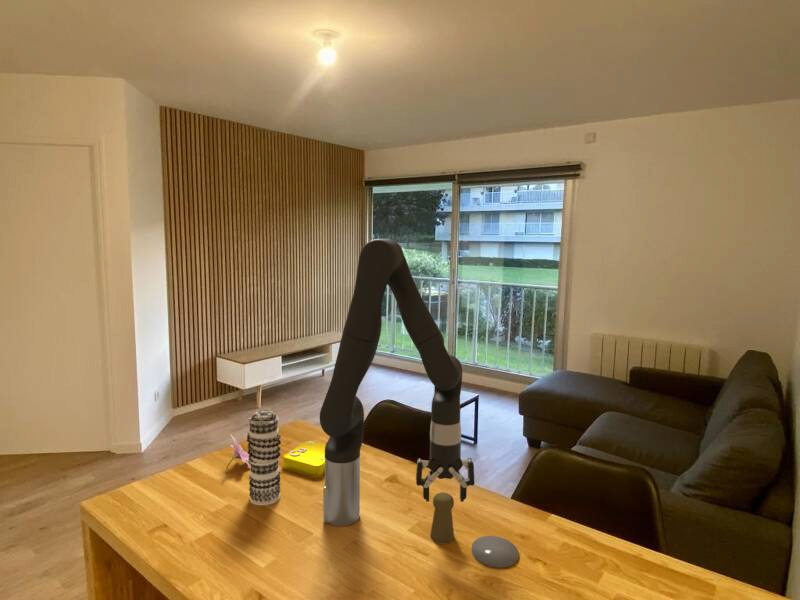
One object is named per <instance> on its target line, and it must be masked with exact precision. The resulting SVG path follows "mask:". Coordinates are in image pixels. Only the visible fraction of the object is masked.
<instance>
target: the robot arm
mask: <svg viewBox="0 0 800 600" xmlns="http://www.w3.org/2000/svg"><path fill="white" fill-rule="evenodd" d="M354 283H355V285H354V290H353V295H352V299H351V301H350V305H349V308H348V310H347V317H346V320H345V322H344V323H345V324H344V327H343V330H342V335H341V338H340V342H339V347H338V352H337V356H336V360H335V363H334V368H333V371H332V372H333V373H332V377H331V380H330V384H329V387H328V390H327V391H326V394H325V397H324V401H323V402H322V405H321V408H320V411H319V424H320V427H321V429H322V431H323V432H324V433H325V434H326V435H327V436H328V437H329V438H328V440H327V442H326V443H325V444H326V446H325V475H324V485H323V489H322V490H323V493H322V494H323V496H322V497H323V499H322V500H323V503H322V504H323V523H326V524H330V525H332V526H335V527H345V526H350V525H352V524H355V523H356V522H357V521H358V520H359V519H360V515H361V514H360V510H361V507H360V503H361V502H360V498H361V496H360V495H361V494H360V493H361V492H360V491H361V485H360V484H361V478H360V477H361V475H360V474H361V449H362V448H361V447H362V446H363V441H364V426H365V425H364V424H365V410H364V407H363V406H364V405H363V403H362V401H361V399H360V398H359V397H358V396H357V395H358V394H357V393H358V390H359V389H360V386H361V383H362V382H363V380H364V378H365V377H366V374H367V373H368V371H369V369H370V367H371V365H372V363H373V361H374V359H375V357H376V352H377V349H378V347H379V343H380V339H381V333H382V325H383V324H382V321H383V320H382V319H383V318H382V316H383V315H382V313H383V312H382V311H383V310H382V307H383V305H382V304H383V300H384V295H385V292H386V289H387V286H388V287H389V289H390V291H391V292H392V295H393V297H394V299H395V301H396V303H397V308H398V311H399V314H400V317H401V320H402V323H403V326H404V328H405V329H406V332H407V334H408V336H409V338H410V339H411V341H412V343H413V345H414V347H415V348H416V350H417V351H418V354H419V356H420V359H421V362H422V365H423V367H424V371H425V372H426V375H427V377H428V378H429V380H430V382H431V383H432V385H433V386H434V389H433V390H434V393H433V397H432V400H431V410H430V411H431V412H430V413H431V415H430V416H431V421H430V427H429V428H430V430H429V459H428V460H425V459H422V458H421V457H418V458H417V460H416V470H415V471H416V474H415V481H416V485H417V486H421V487H422V497H423V499H424V500H425V502H430V485H431V484H432V483H434V482H435V480H436V479H437V478H438V479H439V480H443V479H448V480H451V479H452V478H454V479H455V480H456V481H457V483H459V499H460V502H461V503H462V502H463V503H464V502H465V500H466V499H467V488H468V487H469V486H474V485H475V469H474V468H475V465H474V460H473V459H472V458H471V457H470V458H467V459H464V460H463V459H462V458H461V456H462V452H461V451H462V427H461V426H462V425H461V394H462V393H461V391H462V382H463V366H462V363H461V361H460V360H459V359H458V358H457V357H456V356H454V355H451V354H449V352H448V351H447V348H446V346H445V339H444V336H443V334H442V332H441V330H440V328H439V327H438V324H437V323H436V322H435V319H434V317H433V316H432V314H431V312H430V310H429V308H428V307H427V305H426V303H425V301H424V299H423V297H422V295H421V293H420V292H419V289H418V287H417V285H416V282H415V280H414V277H413V275H412V273H411V270H410V267H409V264H408V262H407V259H406V256H405V253H404V251H403V249H402V247H401V245H400V244H399V243H398V242H397V241H396V240H394V239H392V238H375V239H372V240H369V241H367V242H366V244H364V245H363V247H362V249H361V251H360V253H359V257H358V262H357V268H356V278H355V282H354ZM427 466H428V468H429V471H428V473H427V475H426V476H425V477H424V478H423V471H424V470H425V469H426V467H427ZM462 467H464V468H465V470H466V471H467V478H465V477H464V476H463V474H462V473H461V472H460V471H461V469H462Z"/></svg>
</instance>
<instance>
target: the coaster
mask: <svg viewBox="0 0 800 600" xmlns="http://www.w3.org/2000/svg"><path fill="white" fill-rule="evenodd" d="M471 554H472V556H473V557H474V559H475V560H476V561H477V562H478V563H480V564H482V565H485V566H487V567H490V568H492V569H493V568H495V569H506V568H510V567H512V566H514V565H515V564H516V563H517V562H518V560H519V550H518V548H517V546H515V544H514V543H512V542H511V541H509V540H508V539H506V538H504V537H500V536H496V535H484V536H480V537H478V538H476V539H475V540H474V541H473V542H472V544H471Z"/></svg>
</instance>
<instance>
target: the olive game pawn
mask: <svg viewBox="0 0 800 600" xmlns="http://www.w3.org/2000/svg"><path fill="white" fill-rule="evenodd" d="M454 504H455V502H454V498H453V496H452V495H451V493H448V492H444V491H443V492H437V493H436V494H435V495H434V496H433V498H432V505H433V507H434V511H433V517H432V523H431V528H430V534H429V535H430V537H429V538H430V540H432V541H433V542H434V543H437V544H439V545H446V544H450V543H452V542H453V541H454V539H455V532H454V522H453V513H452V509H453V508H454Z"/></svg>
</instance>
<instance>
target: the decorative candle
mask: <svg viewBox="0 0 800 600" xmlns="http://www.w3.org/2000/svg"><path fill="white" fill-rule="evenodd" d="M279 418H280V417H279V415H277V414H276V413H275V412H274V411H273V410H268V409H263V410H259V411H255V412H254V413H253V414H252V416H251V417H249V418H248V422H249V432H247V435H246V441H247V443H248V444H247V453H248V454H249V459H248V460H247V461H248V463H249V464H250V467H251V469H250V471H249V477H248V479H249V483H248V484H249V490H248V491H249V494H248V495H249V502H250V503H251V504H252V505H255V506H260V507H261V506H262V507H263V506H269V505H272V504H274V503H277V502H278V501H279V500H280V498H281V484H282V483H280V482H281V472H280V465H279V460H280V457H281V447H280V446H279V445H281V443H282V441H281V438H282V437H281V434H279V425H278V424H279V423H278V420H279Z"/></svg>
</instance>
